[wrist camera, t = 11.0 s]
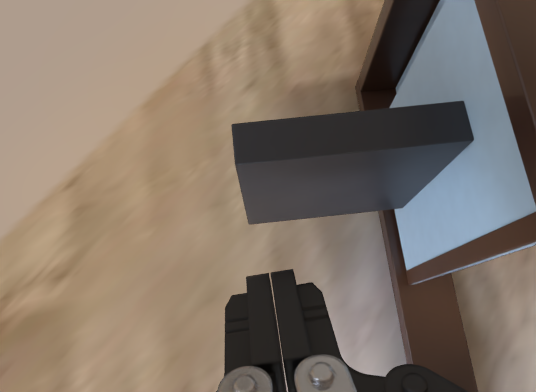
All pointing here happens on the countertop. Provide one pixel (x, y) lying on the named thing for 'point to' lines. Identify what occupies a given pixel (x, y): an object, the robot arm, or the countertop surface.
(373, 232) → the countertop surface
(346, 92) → the countertop surface
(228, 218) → the countertop surface
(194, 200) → the countertop surface
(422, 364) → the window frame
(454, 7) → the window pane
